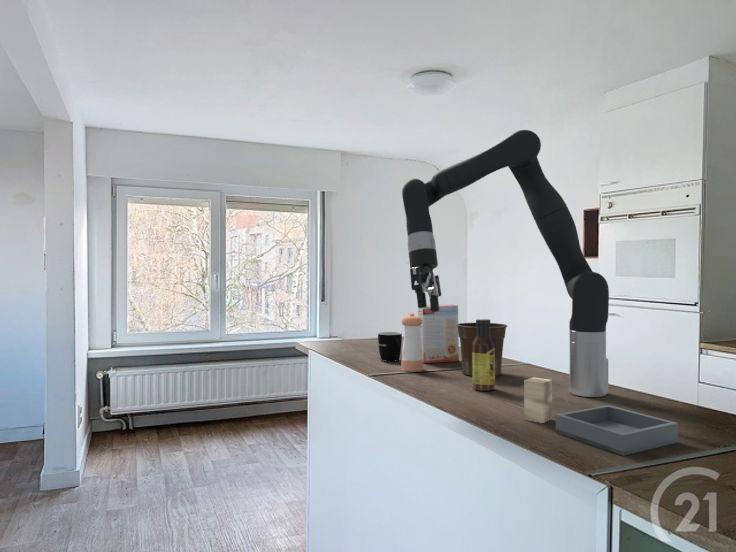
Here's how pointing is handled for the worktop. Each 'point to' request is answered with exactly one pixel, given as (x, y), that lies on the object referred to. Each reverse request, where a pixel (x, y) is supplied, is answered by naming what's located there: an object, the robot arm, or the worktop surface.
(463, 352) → the plant pot
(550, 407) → the maple block
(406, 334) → the pepper shaker
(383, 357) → the mug
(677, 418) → the worktop surface
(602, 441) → the box
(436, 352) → the cracker box
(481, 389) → the sauce bottle
